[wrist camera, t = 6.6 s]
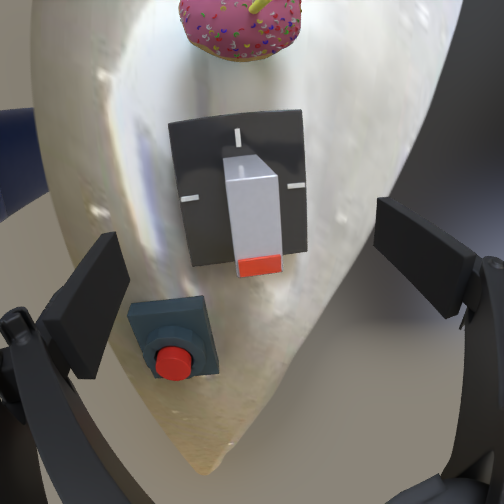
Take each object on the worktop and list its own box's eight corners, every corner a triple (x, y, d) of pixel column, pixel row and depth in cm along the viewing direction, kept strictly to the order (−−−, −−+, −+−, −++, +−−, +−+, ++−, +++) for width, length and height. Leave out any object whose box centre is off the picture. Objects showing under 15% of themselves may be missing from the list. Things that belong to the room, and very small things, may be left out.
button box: (131, 303, 29) (122, 327, 26) (203, 295, 30) (202, 319, 26) (156, 365, 34) (153, 389, 30) (218, 360, 34) (219, 385, 31)
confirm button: (153, 347, 27) (150, 359, 26) (187, 344, 28) (186, 356, 26) (163, 369, 29) (161, 381, 28) (194, 367, 29) (194, 379, 28)
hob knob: (222, 158, 21) (225, 181, 14) (257, 154, 21) (279, 176, 14) (230, 226, 23) (237, 280, 16) (262, 222, 24) (284, 274, 16)
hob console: (173, 122, 22) (167, 123, 19) (292, 109, 23) (302, 109, 20) (194, 251, 27) (192, 268, 25) (298, 238, 28) (308, 252, 25)
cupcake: (306, 43, 20) (373, -1, 9) (222, 90, 21) (227, 64, 10) (250, -26, 16) (275, -102, 5) (166, 19, 18) (130, -45, 7)
